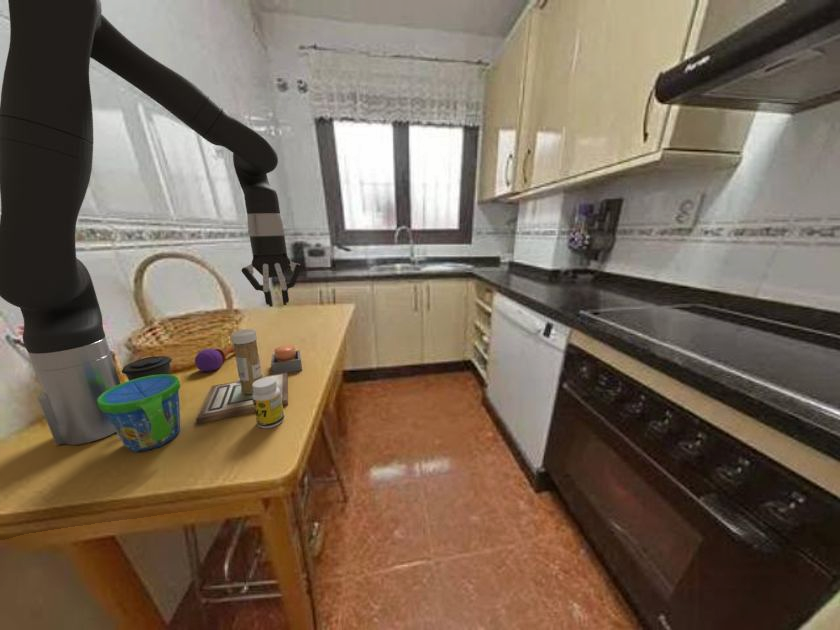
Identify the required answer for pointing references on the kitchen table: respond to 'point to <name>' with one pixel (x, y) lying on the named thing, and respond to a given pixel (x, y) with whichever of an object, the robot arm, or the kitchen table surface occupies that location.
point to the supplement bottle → (267, 402)
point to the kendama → (211, 358)
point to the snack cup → (144, 410)
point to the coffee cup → (147, 367)
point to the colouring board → (234, 400)
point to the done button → (285, 353)
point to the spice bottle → (247, 358)
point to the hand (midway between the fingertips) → (278, 304)
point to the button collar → (286, 365)
